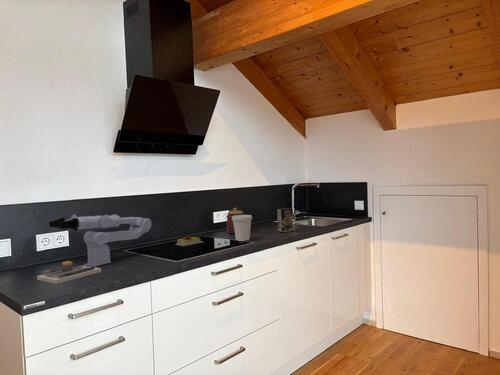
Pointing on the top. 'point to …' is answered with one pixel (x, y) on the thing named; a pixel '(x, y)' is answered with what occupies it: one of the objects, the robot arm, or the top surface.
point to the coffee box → (285, 219)
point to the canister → (230, 222)
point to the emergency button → (188, 241)
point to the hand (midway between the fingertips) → (54, 224)
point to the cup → (242, 227)
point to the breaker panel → (67, 274)
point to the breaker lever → (67, 266)
